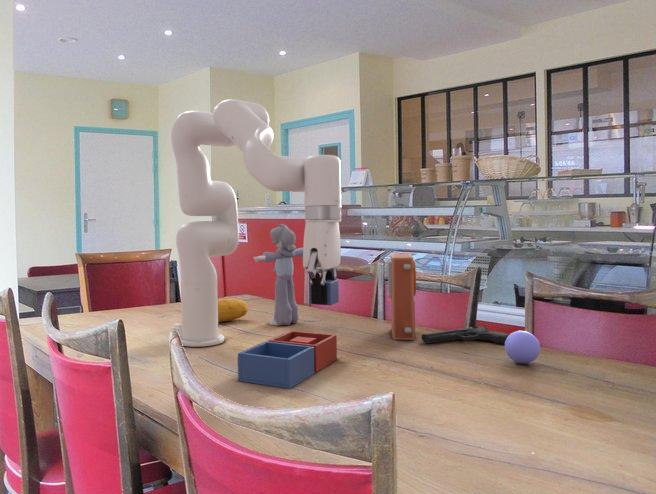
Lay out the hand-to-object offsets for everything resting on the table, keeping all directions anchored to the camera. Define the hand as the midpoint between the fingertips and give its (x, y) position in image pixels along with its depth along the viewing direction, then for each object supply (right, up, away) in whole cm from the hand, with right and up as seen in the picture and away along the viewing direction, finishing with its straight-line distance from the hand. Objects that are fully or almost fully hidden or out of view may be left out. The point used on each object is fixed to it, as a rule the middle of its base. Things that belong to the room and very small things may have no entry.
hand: (324, 301), depth 120 cm
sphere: (+44, -14, +5) cm, 46 cm away
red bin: (-4, -15, +9) cm, 18 cm away
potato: (-23, -15, +59) cm, 65 cm away
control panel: (+25, -14, +35) cm, 45 cm away
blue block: (0, 0, 0) cm, 0 cm away
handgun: (+39, -14, +25) cm, 48 cm away
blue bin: (-10, -15, -2) cm, 18 cm away
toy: (-6, -14, +54) cm, 56 cm away
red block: (-4, -14, +9) cm, 17 cm away
